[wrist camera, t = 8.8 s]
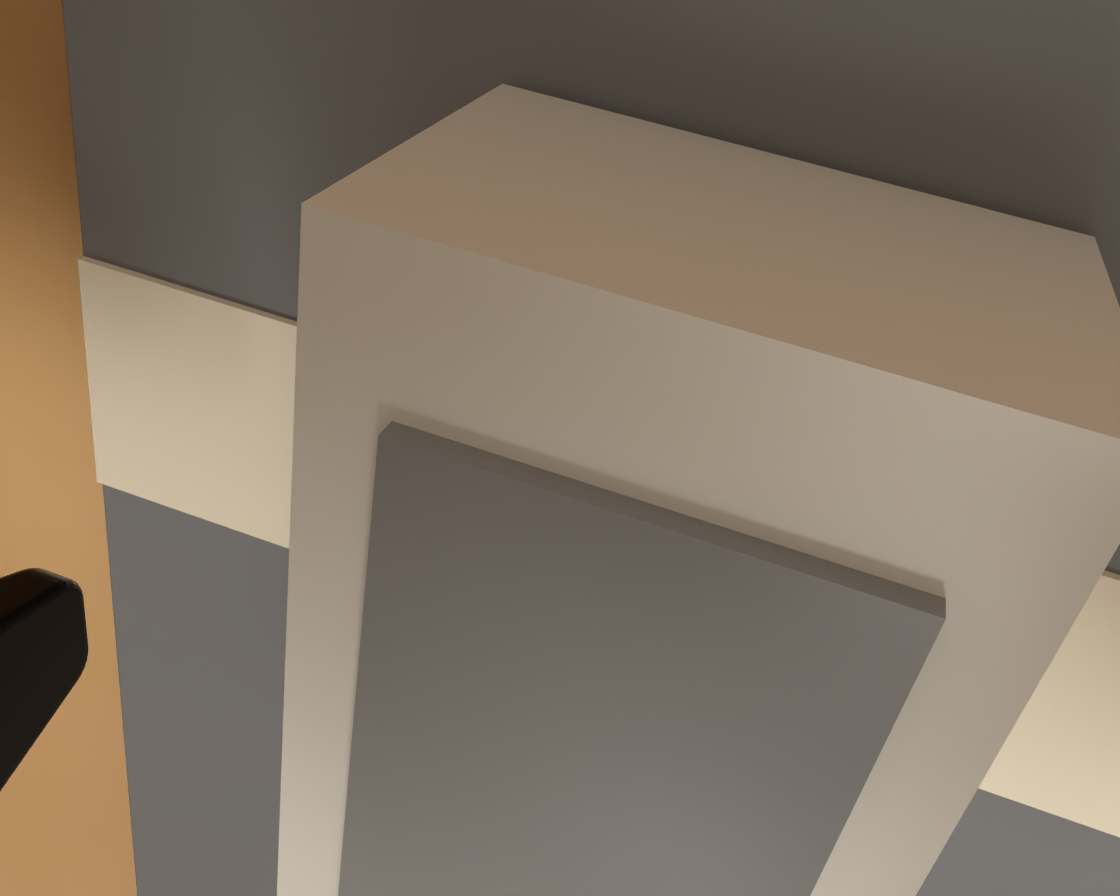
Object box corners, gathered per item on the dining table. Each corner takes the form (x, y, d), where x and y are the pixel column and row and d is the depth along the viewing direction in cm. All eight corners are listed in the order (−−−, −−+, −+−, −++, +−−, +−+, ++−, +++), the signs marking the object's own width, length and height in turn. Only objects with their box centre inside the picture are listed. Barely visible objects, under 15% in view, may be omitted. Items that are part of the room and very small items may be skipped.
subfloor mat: (2312, -370, 6) (2443, -388, 5) (834, 1368, 20) (831, 1407, 19) (51, -689, 8) (-9, -722, 8) (169, 1070, 22) (151, 1100, 22)
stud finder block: (1093, 237, 8) (1177, 471, 5) (778, 910, 13) (728, 1234, 10) (503, 83, 9) (283, 212, 6) (410, 770, 14) (262, 1031, 11)
